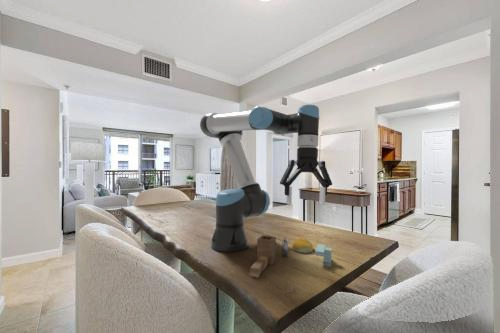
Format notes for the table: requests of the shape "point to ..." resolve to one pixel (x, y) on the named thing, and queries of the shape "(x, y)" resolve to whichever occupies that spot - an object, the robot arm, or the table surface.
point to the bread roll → (302, 246)
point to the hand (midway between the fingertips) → (305, 204)
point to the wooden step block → (264, 254)
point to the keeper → (324, 254)
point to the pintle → (285, 248)
